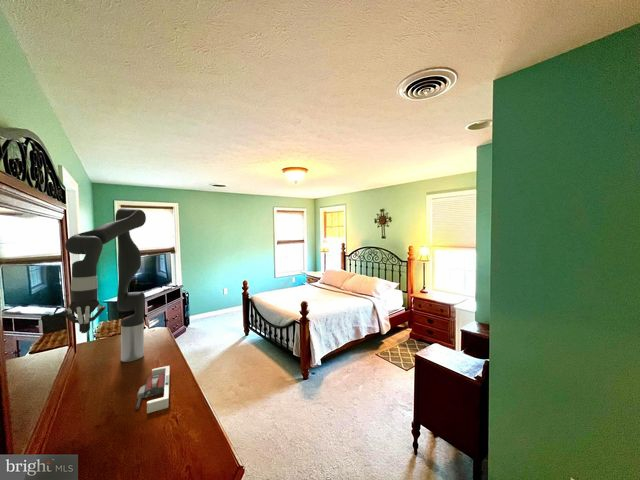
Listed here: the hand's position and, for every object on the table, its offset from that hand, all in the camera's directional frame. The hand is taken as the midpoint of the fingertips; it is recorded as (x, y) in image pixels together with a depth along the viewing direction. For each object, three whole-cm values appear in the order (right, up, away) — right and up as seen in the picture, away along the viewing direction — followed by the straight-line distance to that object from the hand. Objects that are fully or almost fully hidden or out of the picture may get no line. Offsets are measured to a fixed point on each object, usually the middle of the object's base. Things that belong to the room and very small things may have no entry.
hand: (84, 332), depth 97 cm
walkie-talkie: (+24, -26, +3) cm, 35 cm away
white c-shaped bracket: (+25, -25, +4) cm, 36 cm away
